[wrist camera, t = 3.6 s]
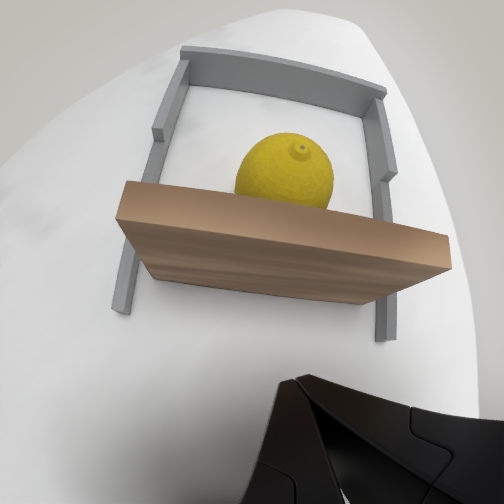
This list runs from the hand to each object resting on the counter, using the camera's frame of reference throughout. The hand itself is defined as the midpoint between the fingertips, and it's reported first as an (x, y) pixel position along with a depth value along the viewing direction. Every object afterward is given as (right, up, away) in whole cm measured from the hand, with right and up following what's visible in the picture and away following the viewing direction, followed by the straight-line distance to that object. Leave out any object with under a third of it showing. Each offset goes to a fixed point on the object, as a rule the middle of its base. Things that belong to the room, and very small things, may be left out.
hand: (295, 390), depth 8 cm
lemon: (0, +6, +14) cm, 15 cm away
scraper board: (0, +2, +12) cm, 12 cm away
